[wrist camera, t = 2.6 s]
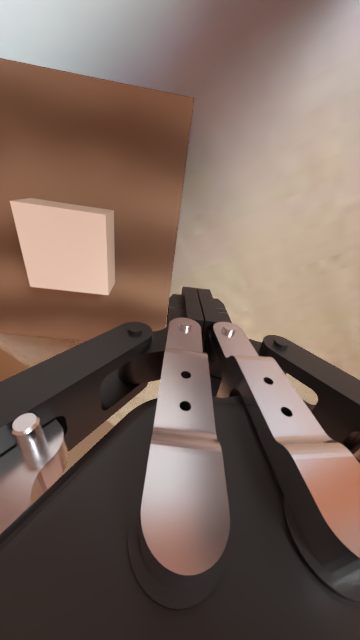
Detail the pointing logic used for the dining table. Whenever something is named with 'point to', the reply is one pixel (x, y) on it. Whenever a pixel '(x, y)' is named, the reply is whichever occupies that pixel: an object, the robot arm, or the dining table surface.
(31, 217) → the tile
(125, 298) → the brown wooden box
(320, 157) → the dining table surface
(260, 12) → the dining table surface
